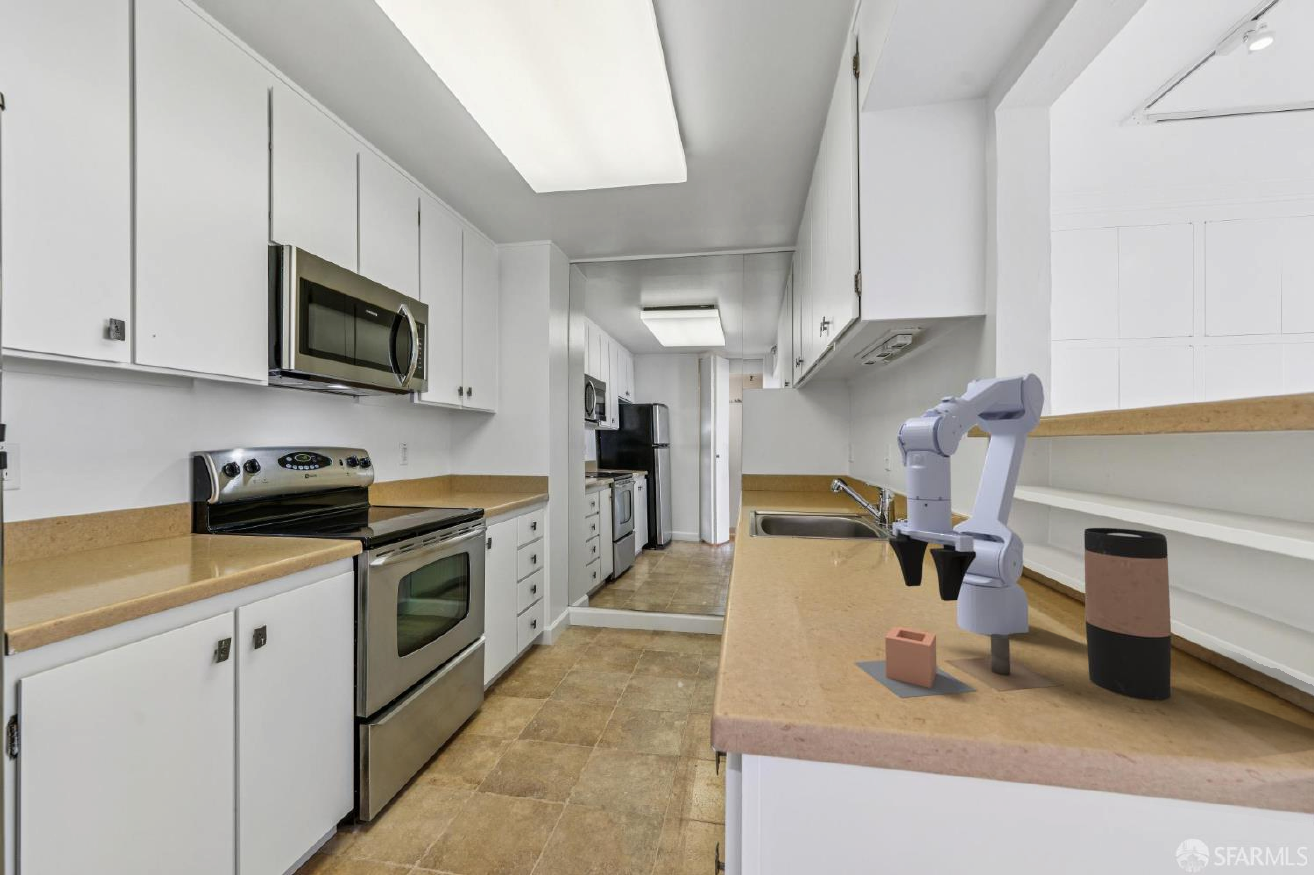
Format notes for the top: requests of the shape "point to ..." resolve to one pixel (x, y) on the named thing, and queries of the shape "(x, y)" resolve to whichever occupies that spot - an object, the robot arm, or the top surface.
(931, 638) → the collar
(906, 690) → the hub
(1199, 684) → the top surface
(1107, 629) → the travel mug
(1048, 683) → the stand
